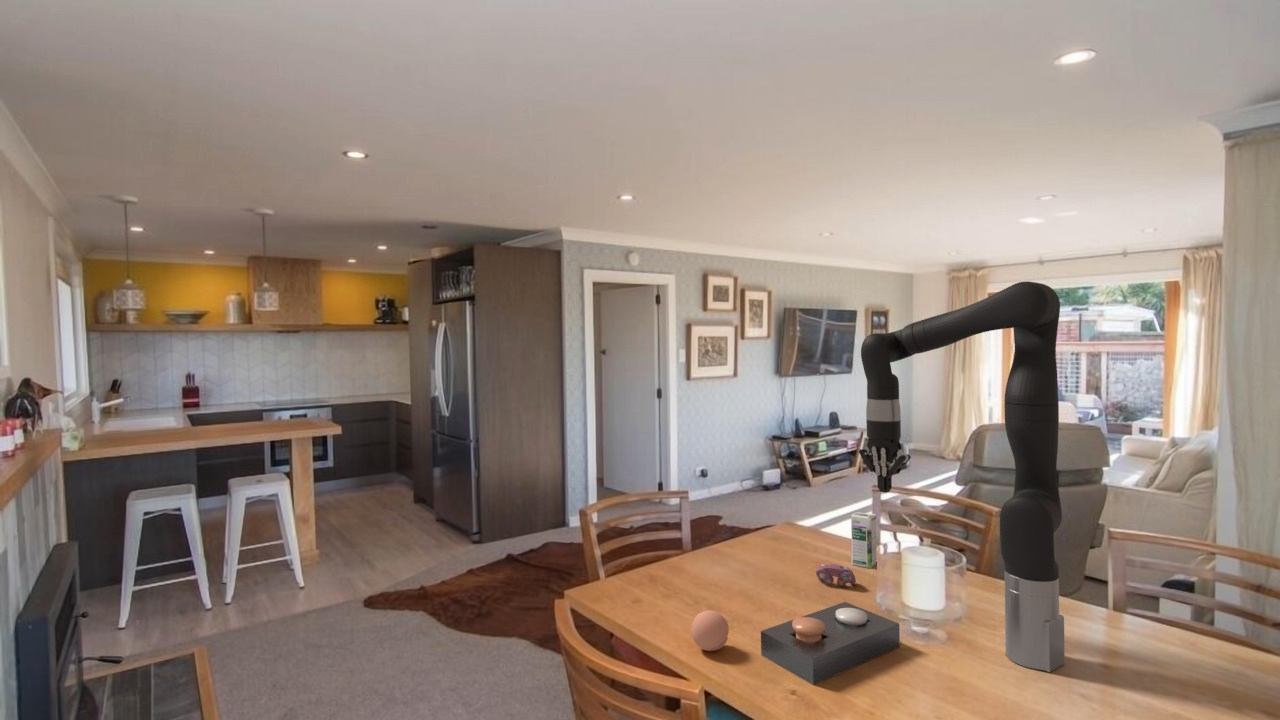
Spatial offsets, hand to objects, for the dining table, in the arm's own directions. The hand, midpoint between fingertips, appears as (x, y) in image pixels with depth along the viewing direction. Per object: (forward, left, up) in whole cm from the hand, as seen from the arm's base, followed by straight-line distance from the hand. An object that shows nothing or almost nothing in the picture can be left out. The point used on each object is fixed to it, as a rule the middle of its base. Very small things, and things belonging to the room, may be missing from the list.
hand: (884, 491), depth 147 cm
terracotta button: (-5, +32, -27) cm, 42 cm away
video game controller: (+19, -5, -29) cm, 35 cm away
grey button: (-5, +19, -28) cm, 34 cm away
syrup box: (+25, -24, -29) cm, 45 cm away
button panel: (-5, +25, -29) cm, 39 cm away
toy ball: (+10, +45, -29) cm, 55 cm away
